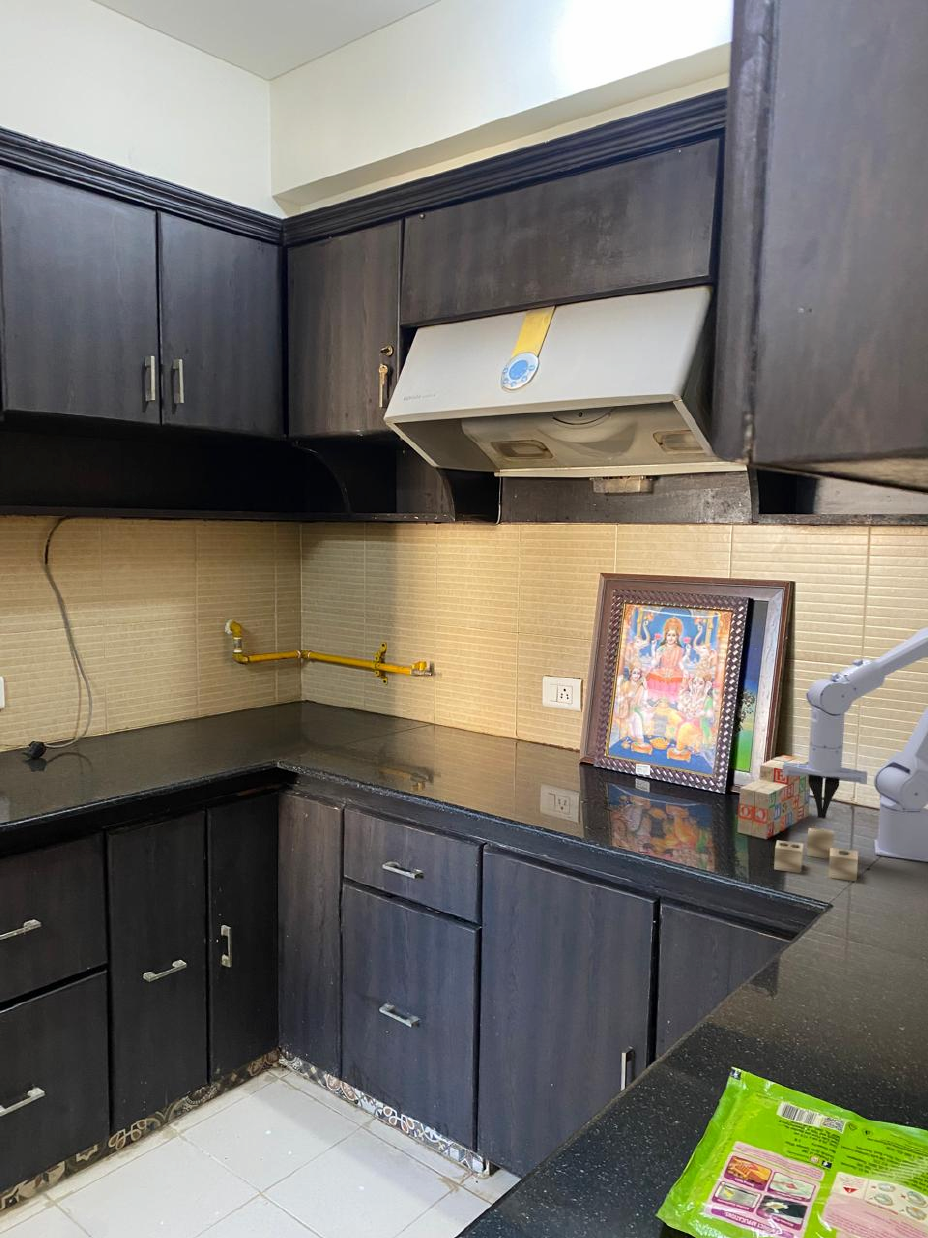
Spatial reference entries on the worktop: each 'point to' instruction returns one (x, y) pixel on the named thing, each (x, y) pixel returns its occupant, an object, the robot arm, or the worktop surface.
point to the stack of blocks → (773, 799)
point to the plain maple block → (820, 842)
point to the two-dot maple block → (788, 856)
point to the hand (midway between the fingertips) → (821, 816)
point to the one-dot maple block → (843, 864)
